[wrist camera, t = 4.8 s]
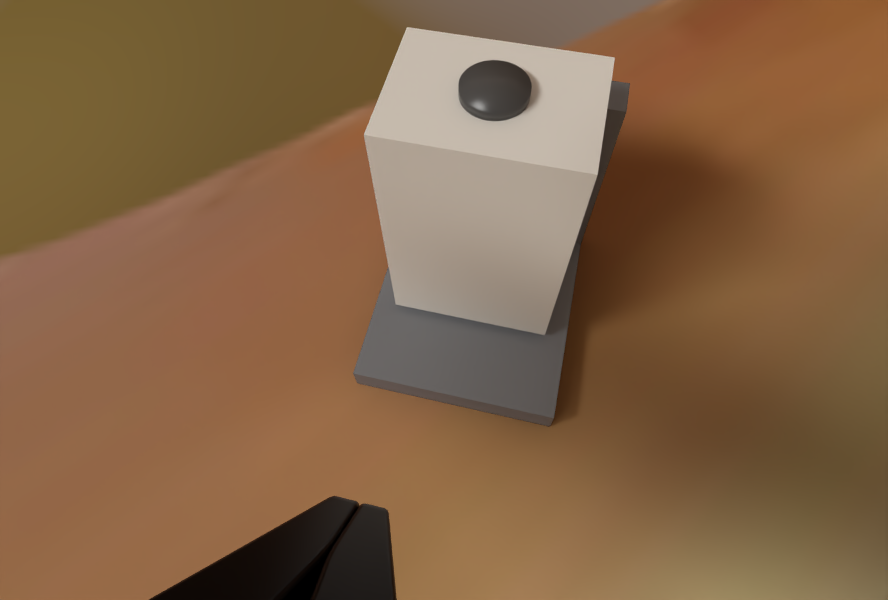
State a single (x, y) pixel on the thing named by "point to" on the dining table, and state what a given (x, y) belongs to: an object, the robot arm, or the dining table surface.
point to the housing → (480, 337)
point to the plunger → (485, 172)
